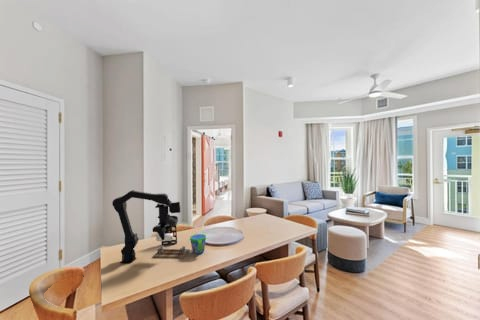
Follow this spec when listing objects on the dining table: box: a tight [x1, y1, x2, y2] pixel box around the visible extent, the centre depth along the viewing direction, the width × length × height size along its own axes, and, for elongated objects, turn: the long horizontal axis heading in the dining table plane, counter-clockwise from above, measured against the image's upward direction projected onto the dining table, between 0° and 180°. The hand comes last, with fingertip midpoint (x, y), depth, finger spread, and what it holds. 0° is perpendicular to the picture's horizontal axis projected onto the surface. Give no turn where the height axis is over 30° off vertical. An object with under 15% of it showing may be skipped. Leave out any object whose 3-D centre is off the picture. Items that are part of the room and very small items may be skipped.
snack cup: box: [189, 233, 207, 255], centre depth 141 cm, size 16×10×10 cm
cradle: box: [152, 245, 190, 259], centre depth 139 cm, size 20×11×4 cm, turn 86°
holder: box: [160, 215, 178, 246], centre depth 158 cm, size 11×8×20 cm
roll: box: [155, 232, 174, 242], centre depth 135 cm, size 10×4×4 cm, turn 84°
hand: (164, 238), depth 135 cm, fingers closed on roll, 4 cm apart
